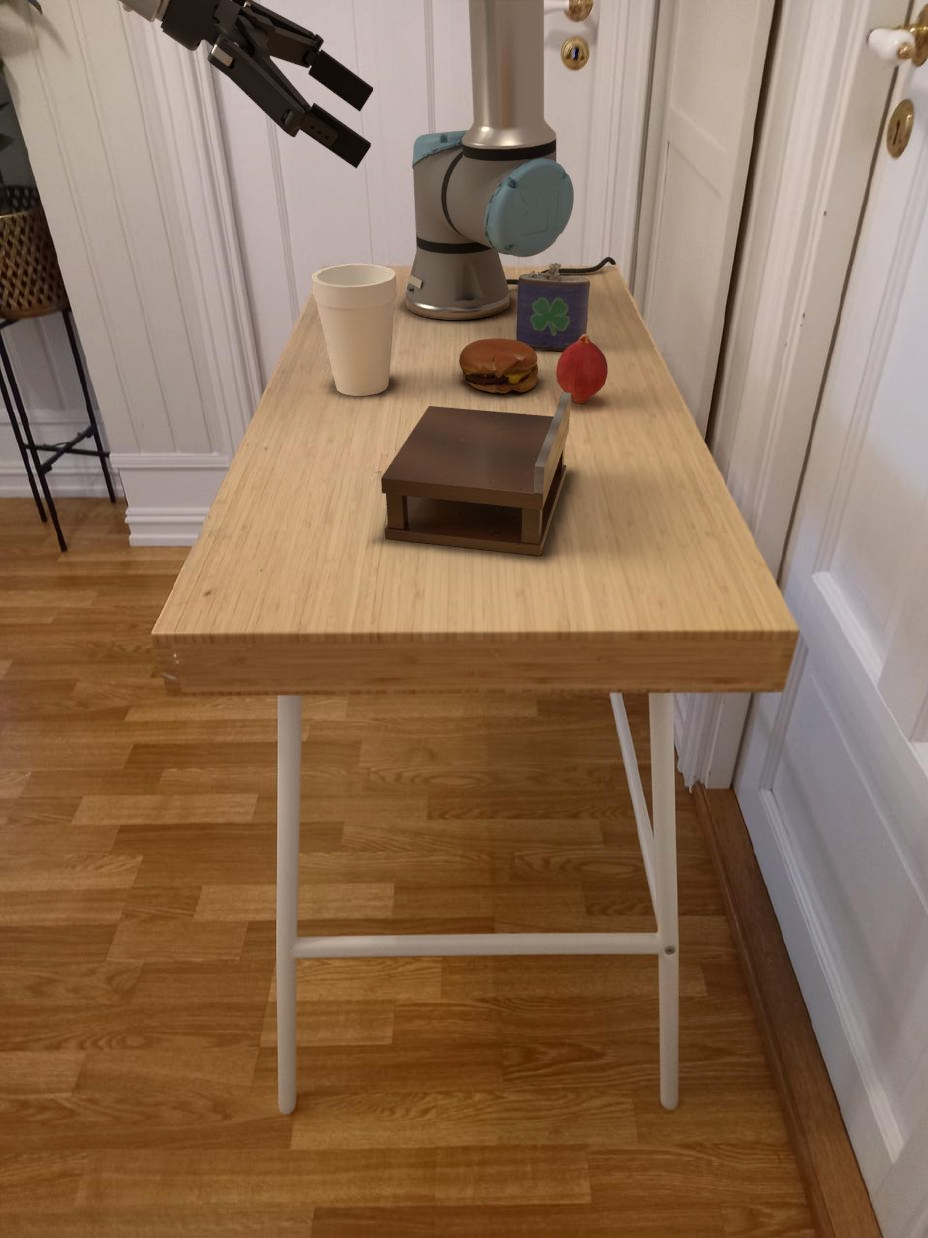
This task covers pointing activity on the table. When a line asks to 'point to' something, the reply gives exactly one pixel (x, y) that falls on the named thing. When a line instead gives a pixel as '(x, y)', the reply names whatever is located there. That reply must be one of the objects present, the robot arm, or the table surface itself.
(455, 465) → the shelf
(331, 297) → the foam cup
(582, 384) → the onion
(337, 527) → the table surface
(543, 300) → the flask
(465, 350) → the burger
